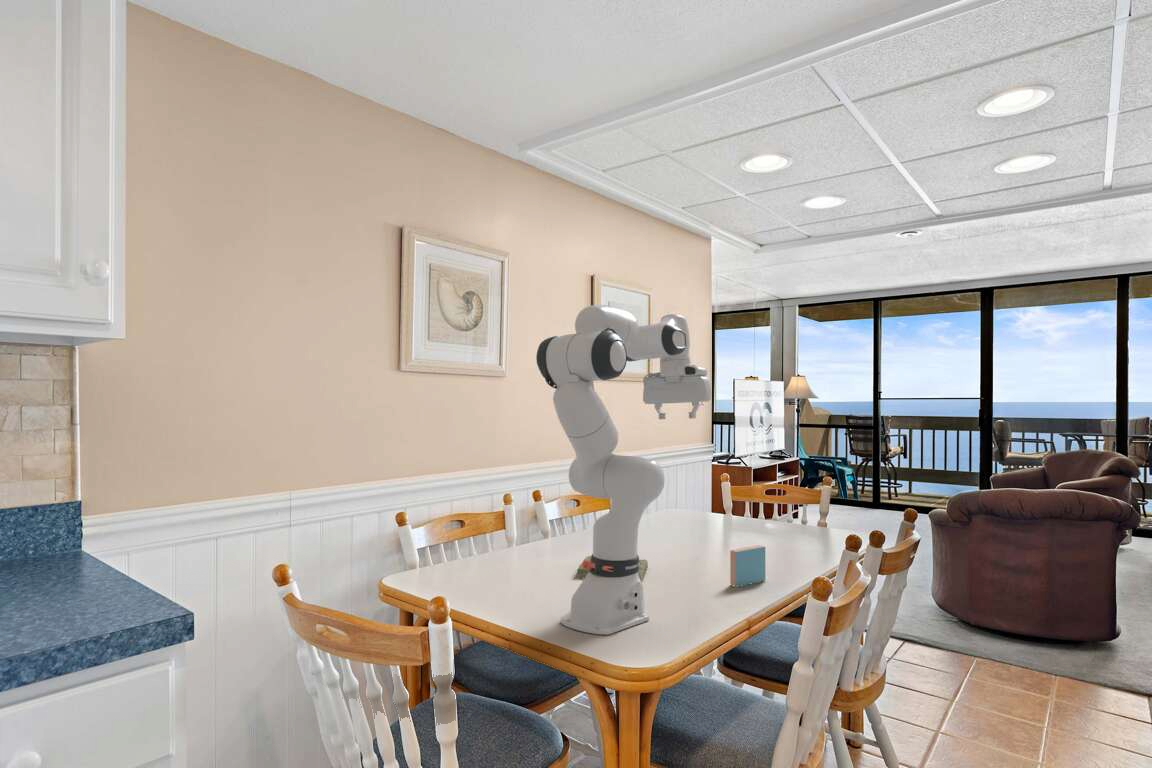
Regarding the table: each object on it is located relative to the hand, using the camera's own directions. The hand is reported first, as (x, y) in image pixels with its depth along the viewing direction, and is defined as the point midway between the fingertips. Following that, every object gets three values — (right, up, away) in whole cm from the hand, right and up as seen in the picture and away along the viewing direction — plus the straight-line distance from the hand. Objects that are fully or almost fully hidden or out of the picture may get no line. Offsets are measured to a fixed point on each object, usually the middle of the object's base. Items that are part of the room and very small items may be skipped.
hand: (677, 418), depth 183 cm
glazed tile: (+21, -48, 0) cm, 52 cm away
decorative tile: (-18, -48, +9) cm, 52 cm away
